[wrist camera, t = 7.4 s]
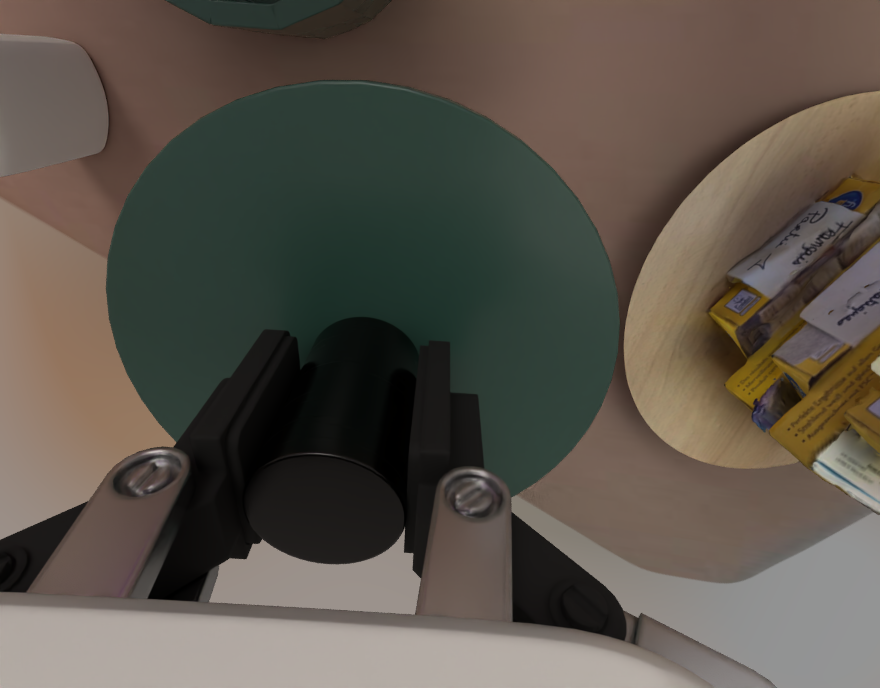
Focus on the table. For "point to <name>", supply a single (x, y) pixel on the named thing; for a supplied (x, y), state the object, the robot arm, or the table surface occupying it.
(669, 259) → the boxes on wooden plate
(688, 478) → the table surface
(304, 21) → the pot
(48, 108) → the eye dropper bottle
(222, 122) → the lid
